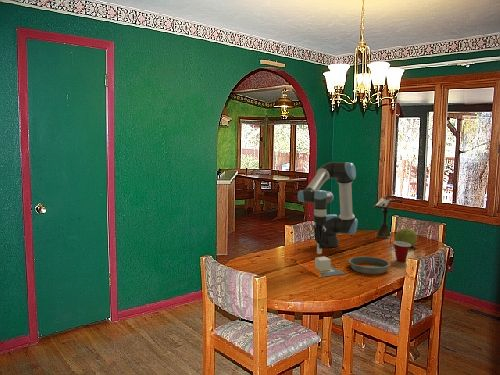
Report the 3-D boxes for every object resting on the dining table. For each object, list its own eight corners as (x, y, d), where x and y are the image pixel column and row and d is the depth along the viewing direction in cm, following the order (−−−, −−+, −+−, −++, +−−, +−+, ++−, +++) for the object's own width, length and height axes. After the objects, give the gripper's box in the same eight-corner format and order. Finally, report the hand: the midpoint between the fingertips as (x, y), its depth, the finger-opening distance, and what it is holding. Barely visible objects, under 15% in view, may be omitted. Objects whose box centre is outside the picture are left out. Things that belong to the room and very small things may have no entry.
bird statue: (383, 240, 333) (385, 196, 328) (370, 237, 343) (371, 194, 339) (396, 237, 342) (398, 194, 338) (382, 234, 353) (384, 192, 349)
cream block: (320, 260, 253) (320, 272, 254) (330, 259, 255) (330, 270, 256) (314, 257, 259) (314, 268, 260) (324, 256, 262) (324, 267, 263)
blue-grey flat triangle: (291, 261, 276) (291, 260, 276) (315, 258, 283) (315, 258, 283) (319, 277, 245) (319, 277, 245) (345, 274, 252) (345, 273, 251)
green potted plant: (391, 247, 313) (390, 227, 318) (401, 251, 321) (400, 231, 327) (412, 244, 301) (410, 223, 307) (421, 248, 310) (420, 228, 316)
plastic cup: (408, 264, 271) (409, 245, 270) (391, 261, 277) (391, 243, 275) (411, 259, 280) (412, 242, 279) (394, 257, 286) (395, 240, 284)
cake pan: (396, 268, 262) (397, 261, 262) (376, 278, 245) (376, 270, 245) (362, 260, 280) (362, 253, 279) (340, 268, 263) (340, 261, 263)
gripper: (309, 214, 263) (308, 251, 265) (320, 218, 251) (319, 256, 253) (319, 213, 265) (319, 250, 268) (331, 217, 253) (330, 255, 256)
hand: (319, 253), depth 261 cm, fingers closed
